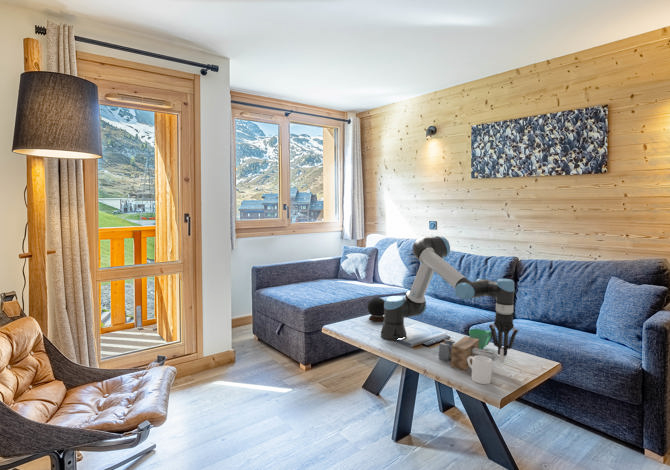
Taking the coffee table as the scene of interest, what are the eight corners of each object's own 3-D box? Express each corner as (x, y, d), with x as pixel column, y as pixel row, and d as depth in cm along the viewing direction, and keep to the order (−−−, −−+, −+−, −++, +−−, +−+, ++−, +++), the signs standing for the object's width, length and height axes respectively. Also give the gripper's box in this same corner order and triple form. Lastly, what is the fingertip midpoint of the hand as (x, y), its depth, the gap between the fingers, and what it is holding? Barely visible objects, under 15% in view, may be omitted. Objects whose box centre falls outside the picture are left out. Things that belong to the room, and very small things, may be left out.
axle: (451, 350, 197) (451, 343, 197) (454, 348, 200) (454, 342, 199) (492, 361, 184) (492, 353, 184) (494, 358, 187) (494, 351, 187)
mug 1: (478, 354, 206) (479, 335, 205) (464, 348, 214) (464, 330, 214) (497, 349, 212) (498, 331, 212) (483, 344, 221) (484, 326, 220)
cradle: (438, 359, 199) (439, 343, 198) (445, 354, 205) (445, 339, 205) (448, 361, 196) (448, 345, 195) (454, 356, 202) (454, 341, 201)
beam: (451, 366, 190) (451, 345, 189) (464, 355, 204) (465, 336, 203) (465, 370, 185) (466, 349, 185) (478, 359, 200) (478, 339, 199)
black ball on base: (377, 315, 276) (377, 294, 275) (390, 319, 266) (391, 298, 264) (363, 318, 267) (363, 297, 266) (377, 323, 257) (377, 301, 256)
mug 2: (472, 371, 185) (473, 351, 184) (494, 381, 174) (495, 360, 174) (460, 375, 180) (461, 354, 180) (482, 385, 170) (483, 363, 169)
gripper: (487, 311, 183) (485, 360, 185) (517, 316, 175) (514, 368, 177) (492, 308, 189) (490, 355, 190) (521, 313, 180) (519, 362, 182)
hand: (502, 361), depth 184 cm, fingers closed
